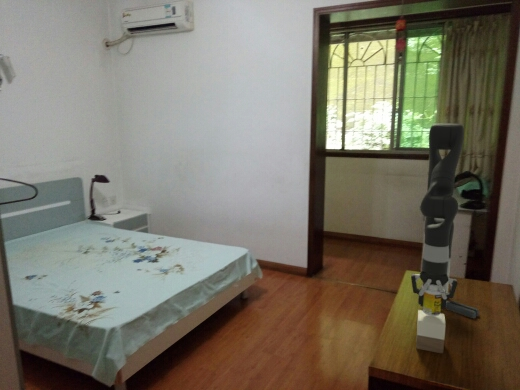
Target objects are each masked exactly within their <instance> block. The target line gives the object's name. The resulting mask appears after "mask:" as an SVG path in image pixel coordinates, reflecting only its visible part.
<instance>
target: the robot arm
mask: <svg viewBox="0 0 520 390" xmlns="http://www.w3.org/2000/svg"><path fill="white" fill-rule="evenodd" d="M464 129H465V128H464V126H463V124H461V123H434V124H432V125H431V126H430V129H429V132H428V134H429V135H428V154H429V155H428V158H429V159H428V161H429V162H428V164H429V165H428V176H427V188H426V190H427V191H426V193H425V195H424V197H423V198H422V200H421V203H420V212H421V215H423V216H424V217H425V222H424V229H423V231H424V244H423V250H422V259H421V261H422V262H421V271H420V273H417V274H416V273H413V272H412V273H411V275H410V276H411V277H410V279H411V288H412V292H413V293H414V294H417V295H418V300H417V302H418V305H420V307H421V308H422V307H423V294H424V292H425V291H426V289H427V288H428V286H429V284H433V285H438V288H439V290H440V293H442V302H441V311H442V310H444V309H446V300H447V301H448V299H453V298H454V296H455V292H456V289H457V287H458V280H457V278H450V272H451V271H450V270H451V269H450V268H451V256H452V247H453V246H452V245H453V244H452V243H453V237H454V231H455V222H454V220H455V217H456V215H457V214H458V211H459V202H458V200H457V198H455V197H453V196H454V192H455V191H454V189H455V180H456V173H457V172H456V171H457V166H458V164H459V161H460V160H459V159H460V156H461V153H462V148H463V143H464V140H465V139H464V137H465V130H464ZM440 150H442V151H449V152H448V153H447V155H445V156H444V157H443V158H442V157H441V153H440ZM419 279H420V280H421V281H422V284H421V286H420V288H418V286H417V285H418V284H417V282H418V281H419ZM449 286H450V288H449ZM445 291H446V292H447V293H446V292H445Z"/></svg>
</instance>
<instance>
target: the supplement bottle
mask: <svg viewBox="0 0 520 390" xmlns="http://www.w3.org/2000/svg"><path fill="white" fill-rule="evenodd" d="M441 302H442V293H440V290H439V288H438V285H433V284H429V286H428V288H427V289H426V291H425V292H424V294H423V307H422V306H421V308H422V309H421V310H422V311H423V312H424V313H425V314H427V315H430V316H438V315H440V313H441V314H442V312H441V311H442V310H441Z"/></svg>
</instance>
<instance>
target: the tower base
mask: <svg viewBox="0 0 520 390" xmlns="http://www.w3.org/2000/svg"><path fill="white" fill-rule="evenodd" d="M415 339H416V341H415V343H416V345H415V349H417V350H423V351H427V352H433V353H438V354H444V347H445V346H444V345H445V339H444V340H442V339H437V338H431V337H426V336H420V335H417V334H416V337H415Z"/></svg>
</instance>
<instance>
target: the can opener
mask: <svg viewBox="0 0 520 390" xmlns="http://www.w3.org/2000/svg"><path fill="white" fill-rule="evenodd" d="M445 292H446V291H445ZM446 293H447V292H446ZM445 309H446V310H448V311H450V312H454V313H456V314H459V315H462V316H465V317H468V318H471V319H476V318H477V317H479V315H480V311H479V309H478V308H475V307H472V306H470V305H469V306H468V305H466V304H463V303H461V302H458V301H455V300H448V299H447V300H446V308H445Z"/></svg>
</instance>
